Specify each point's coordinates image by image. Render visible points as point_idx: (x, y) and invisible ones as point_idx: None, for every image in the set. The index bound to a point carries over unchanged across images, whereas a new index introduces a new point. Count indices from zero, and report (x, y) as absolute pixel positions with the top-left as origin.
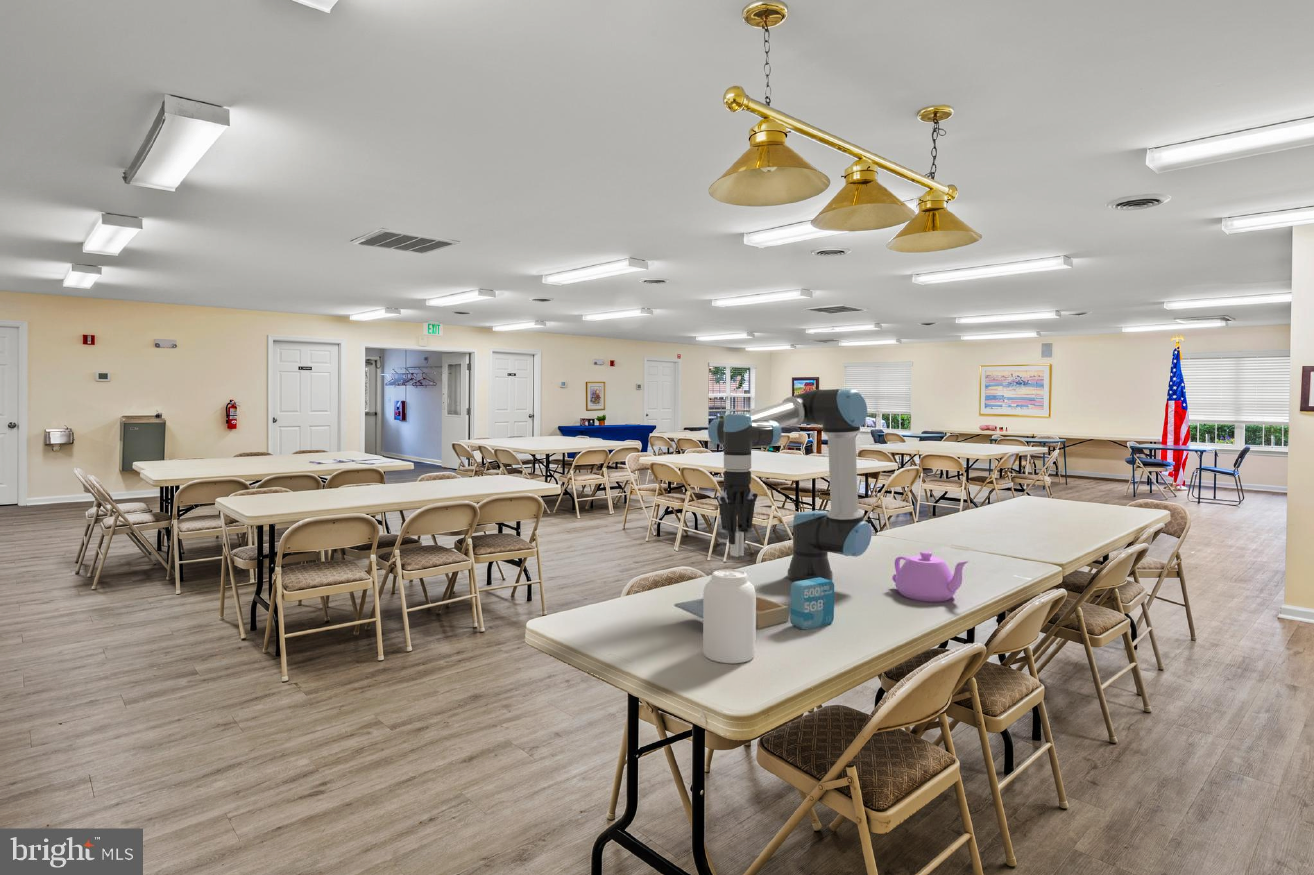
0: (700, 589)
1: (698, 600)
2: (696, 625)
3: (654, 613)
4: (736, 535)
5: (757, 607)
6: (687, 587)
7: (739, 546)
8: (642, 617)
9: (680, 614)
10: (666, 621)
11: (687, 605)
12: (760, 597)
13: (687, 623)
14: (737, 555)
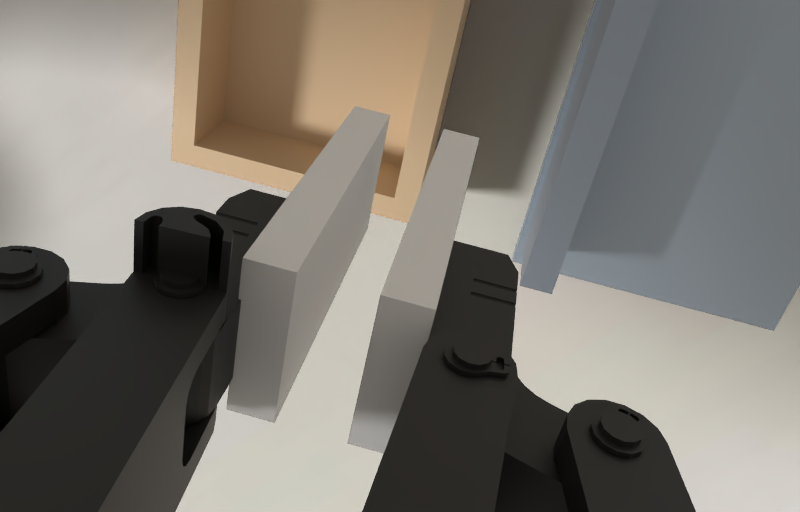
0: (203, 454)
1: (602, 262)
2: None
3: (688, 416)
4: (440, 284)
5: (228, 29)
6: (230, 508)
7: (354, 205)
8: (789, 424)
9: (612, 314)
10: None
11: (754, 251)
12: (185, 29)
13: None
14: (458, 138)
